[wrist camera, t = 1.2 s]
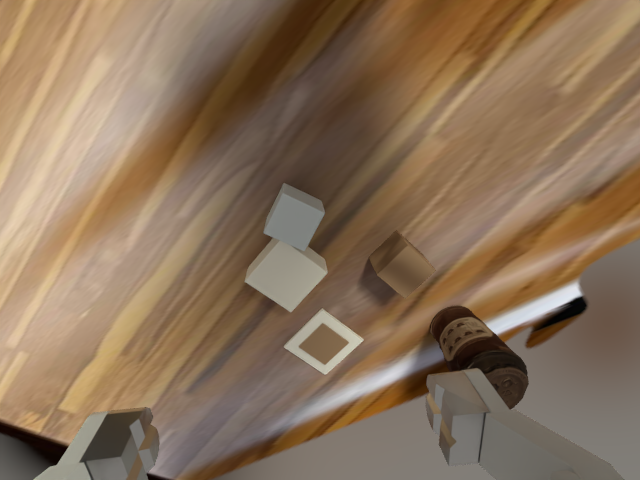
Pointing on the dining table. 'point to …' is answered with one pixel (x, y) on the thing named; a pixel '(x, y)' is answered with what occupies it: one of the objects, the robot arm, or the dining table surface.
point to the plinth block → (286, 273)
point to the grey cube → (294, 217)
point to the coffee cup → (479, 352)
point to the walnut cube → (401, 264)
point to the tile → (323, 342)
